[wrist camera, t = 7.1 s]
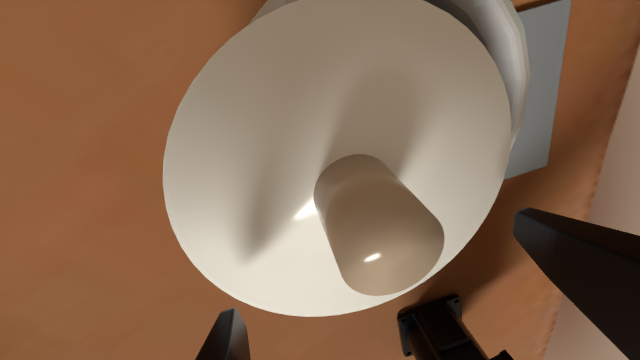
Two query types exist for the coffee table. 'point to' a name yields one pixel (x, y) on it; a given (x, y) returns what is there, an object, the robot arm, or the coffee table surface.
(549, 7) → the mat
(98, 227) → the coffee table surface
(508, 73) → the mug
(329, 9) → the lid
